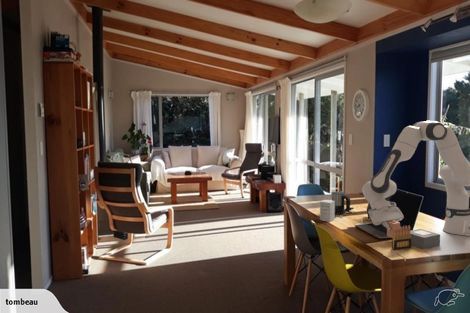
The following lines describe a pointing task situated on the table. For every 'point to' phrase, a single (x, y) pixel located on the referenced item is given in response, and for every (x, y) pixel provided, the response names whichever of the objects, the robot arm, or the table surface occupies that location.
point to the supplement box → (327, 210)
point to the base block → (424, 239)
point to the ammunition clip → (401, 238)
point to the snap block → (392, 224)
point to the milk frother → (341, 202)
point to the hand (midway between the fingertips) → (394, 228)
